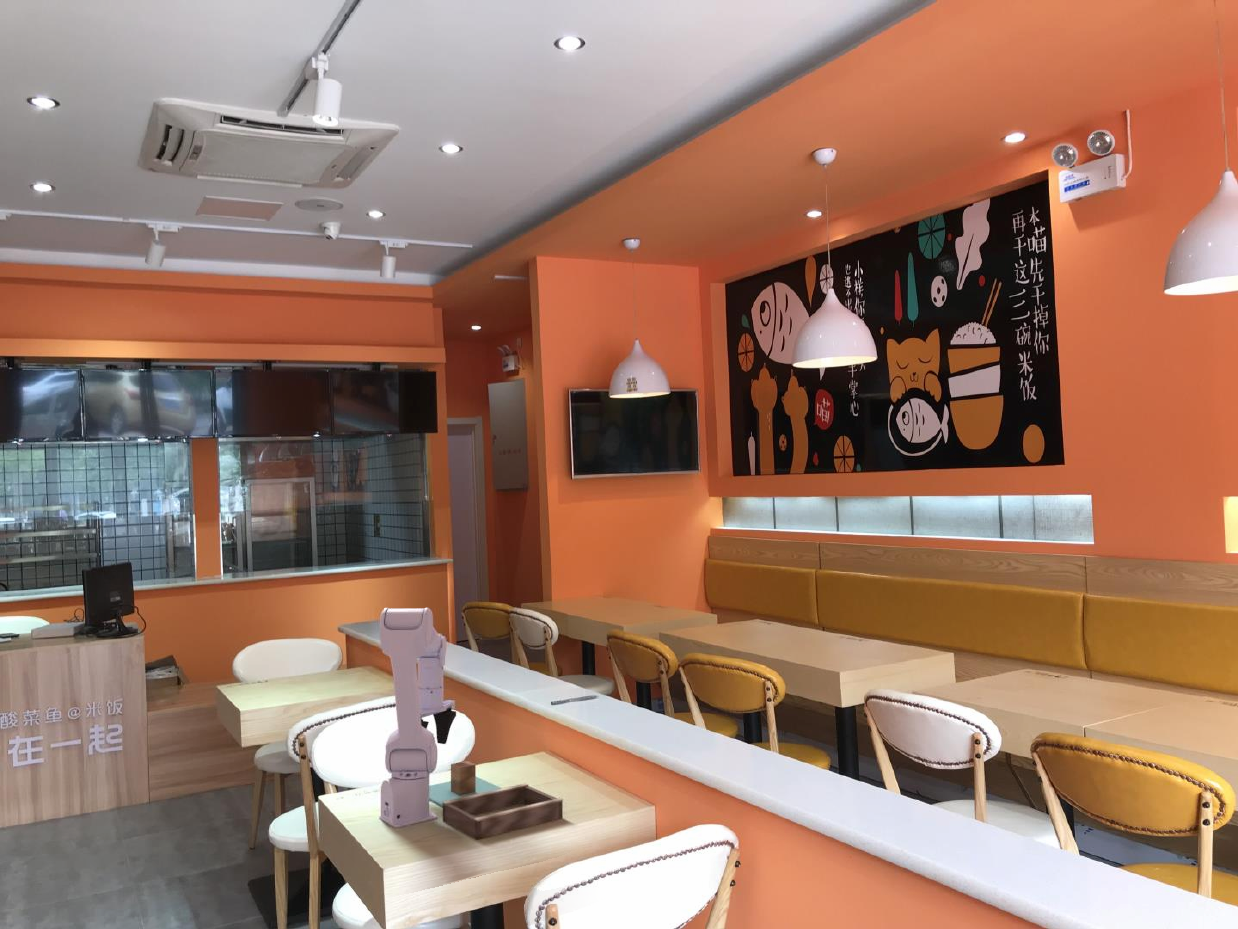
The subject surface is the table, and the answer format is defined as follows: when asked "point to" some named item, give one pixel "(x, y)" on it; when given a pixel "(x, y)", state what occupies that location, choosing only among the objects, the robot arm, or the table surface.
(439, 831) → the table surface
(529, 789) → the frame
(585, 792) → the table surface
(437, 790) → the mat
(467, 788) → the walnut block
